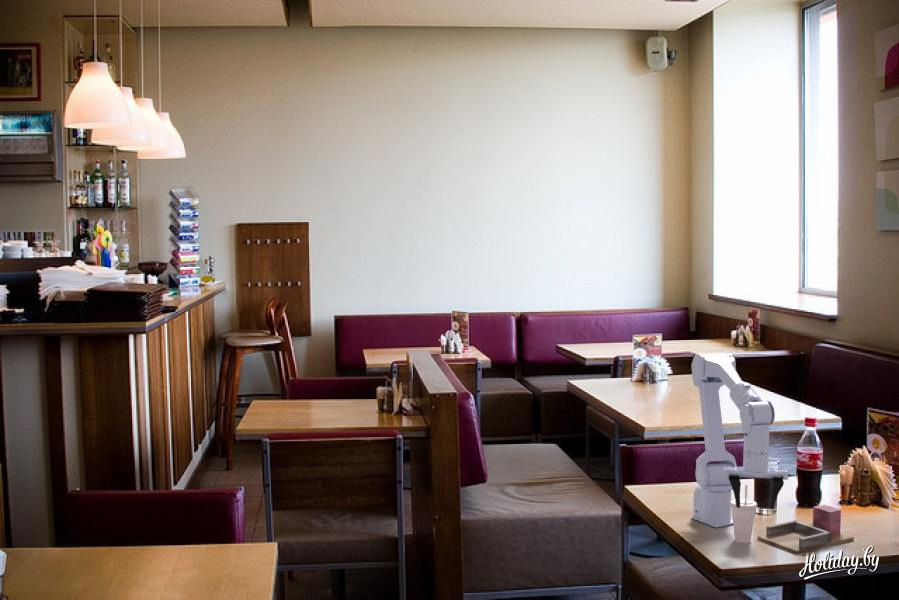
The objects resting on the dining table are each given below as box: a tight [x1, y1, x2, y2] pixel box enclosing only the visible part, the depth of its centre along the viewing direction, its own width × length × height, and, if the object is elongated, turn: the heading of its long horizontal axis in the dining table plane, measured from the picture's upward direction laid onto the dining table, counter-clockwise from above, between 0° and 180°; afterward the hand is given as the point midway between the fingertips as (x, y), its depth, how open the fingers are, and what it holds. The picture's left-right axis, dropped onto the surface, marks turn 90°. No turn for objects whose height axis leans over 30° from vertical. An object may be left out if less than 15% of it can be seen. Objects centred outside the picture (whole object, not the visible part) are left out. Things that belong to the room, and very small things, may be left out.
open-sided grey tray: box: [757, 504, 855, 555], centre depth 227 cm, size 12×20×7 cm, turn 118°
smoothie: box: [730, 484, 758, 544], centre depth 226 cm, size 6×6×14 cm
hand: (754, 507), depth 221 cm, fingers open, 7 cm apart
